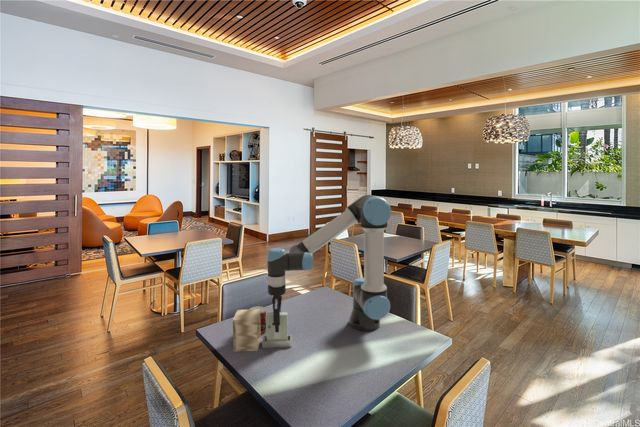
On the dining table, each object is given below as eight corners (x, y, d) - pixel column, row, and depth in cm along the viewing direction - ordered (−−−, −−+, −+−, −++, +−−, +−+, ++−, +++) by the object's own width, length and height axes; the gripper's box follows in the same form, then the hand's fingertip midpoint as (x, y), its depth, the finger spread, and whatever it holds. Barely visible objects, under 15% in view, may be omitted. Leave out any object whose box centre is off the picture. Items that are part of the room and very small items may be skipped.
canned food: (263, 336, 150) (262, 313, 149) (246, 334, 152) (246, 312, 150) (268, 328, 157) (268, 306, 156) (253, 327, 159) (252, 305, 158)
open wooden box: (260, 338, 148) (259, 309, 146) (257, 350, 138) (257, 319, 136) (238, 339, 147) (237, 309, 145) (233, 351, 137) (232, 319, 135)
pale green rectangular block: (287, 337, 145) (287, 312, 143) (287, 342, 141) (287, 315, 140) (267, 338, 144) (266, 312, 143) (266, 342, 140) (266, 316, 139)
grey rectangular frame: (292, 340, 146) (292, 334, 146) (291, 346, 141) (291, 341, 141) (263, 341, 146) (263, 335, 145) (262, 347, 140) (262, 342, 140)
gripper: (269, 278, 148) (270, 327, 151) (266, 291, 132) (267, 346, 135) (286, 278, 148) (286, 327, 151) (284, 290, 132) (285, 345, 135)
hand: (277, 336), depth 143 cm, fingers closed on pale green rectangular block, 3 cm apart
